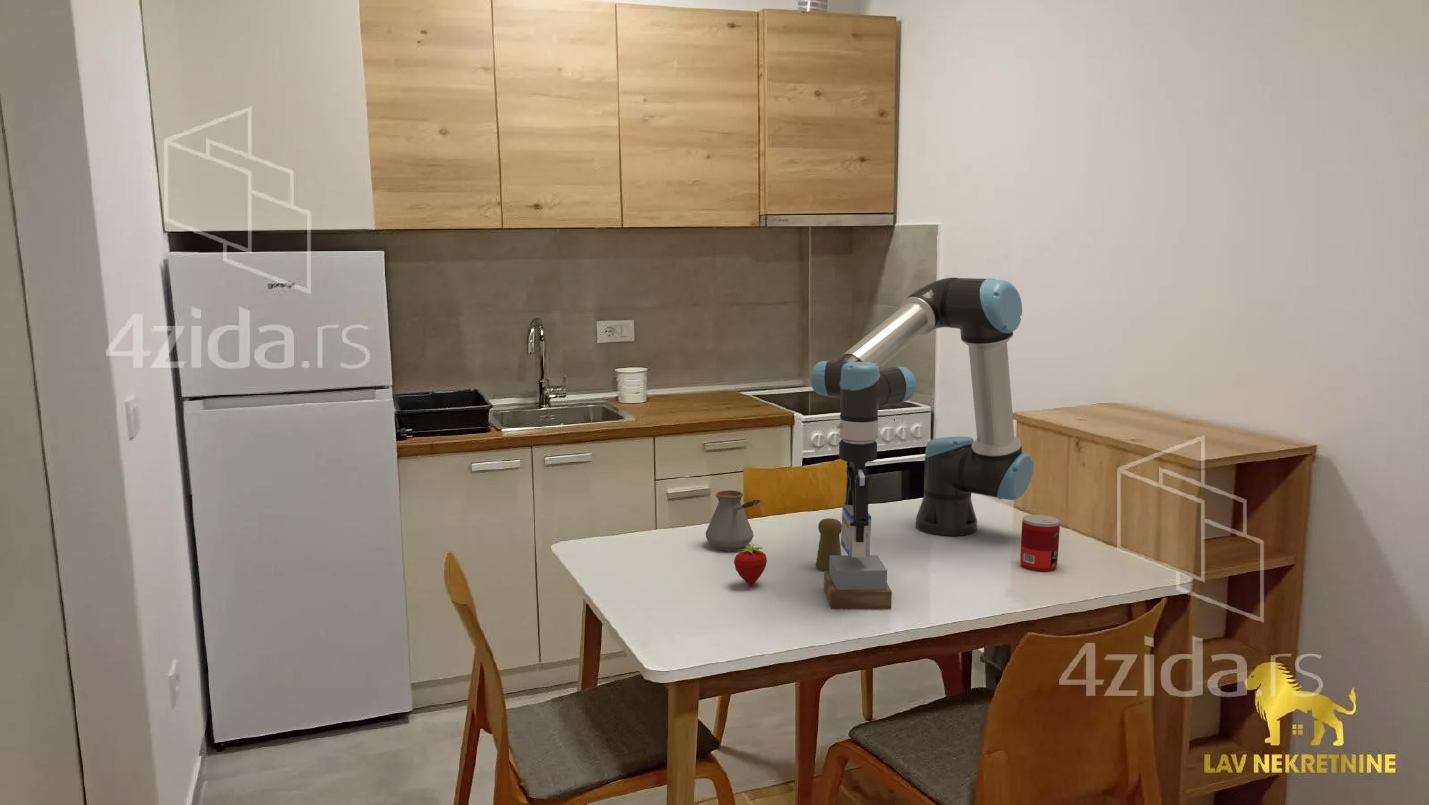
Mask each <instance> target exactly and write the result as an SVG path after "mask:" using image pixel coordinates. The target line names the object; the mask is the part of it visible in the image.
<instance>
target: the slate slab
mask: <svg viewBox="0 0 1429 805" xmlns="http://www.w3.org/2000/svg"><path fill="white" fill-rule="evenodd" d="M829 575H830V577H831V579H832V581H833V583H834V585H835V588H836V590H887V584H888V569H887V568H886V566H885V565H884V563H883V562H882V559H881V558H880V557H879V556H878V554H870V556H868V557H849V556H848V554H845V555H843V554H841V555H830V560H829Z"/></svg>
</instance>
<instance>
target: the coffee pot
mask: <svg viewBox="0 0 1429 805" xmlns="http://www.w3.org/2000/svg"><path fill="white" fill-rule="evenodd" d="M743 496H744V493H743V492H742V491H739V490H720V491H717V492H716V494H715V497H716V498H717V501H718V503H717V505H716V508H715V511H714V513H713V515H712V517H711V520H710V522H709V524H708V527H707V528H706V530H705V538H706V540H707V542H708V543H710V545H711V546H714V547H715V549H716V550H720V551H727V552H728V551H729V552H731V551H739V550H741V549H746V545H747V546H748V545H749V544H750V543H752V542H751V541H752V540H753V538H754V532H753V529H752V527H751V524H750V522H749V519H748V517H747V515H746V512H745V510H744V509H747V508H751V507H753V506H754V507H755V509H758V510H761V509H762V507H764V505H765V504H764V502H763V501H762V500H760V499H753V500H752V501H751V500H750V501H747V502H745V503H743V504H742V502H741V501H742V497H743ZM759 503H761V504H762V507H760V508H759V507H756V505H759ZM750 540H751V541H750ZM714 547H713V548H714Z"/></svg>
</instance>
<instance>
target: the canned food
mask: <svg viewBox="0 0 1429 805" xmlns="http://www.w3.org/2000/svg"><path fill="white" fill-rule="evenodd" d="M1021 522H1022V523H1021V534H1020V535H1021V538H1020V558H1019V561H1020V565H1021V567H1022V568H1024V569H1027V570H1029V571H1032V572H1033V571H1034V572H1041V573H1043V572H1044V573H1045V572H1053V571H1055V570H1056V569H1057V567H1058V560H1059V559H1058V557H1059V547H1060V546H1059V545H1060V544H1059V543H1060V530H1061V527H1060V526H1061V520H1060V519H1058V517H1057V518H1056V517H1055V516H1051V515H1046V514H1027V515H1024V516H1022V521H1021ZM1052 570H1053V571H1052Z"/></svg>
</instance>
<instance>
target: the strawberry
mask: <svg viewBox="0 0 1429 805" xmlns="http://www.w3.org/2000/svg"><path fill="white" fill-rule="evenodd" d="M750 541H751V542H750V543H751V544H752V546H749V545H748V544H747V545H746V547H745V548H743V549H740V550H738V553H737V554H736V555H735V556H734V561H733V564H734V568H735V571H736V572H737V573H738V575H739V576H740V577H741V579H742V580H743V581H744V582H745V583H746V584H747V585H748V586H749V587H751V586H755V585H756V583H757V581H758V580H759V578H760V577H761V576H762V574H763V573H764V571H765V569H766V566H767V563H768V558H767V555H766V554H765V553H764V551H762V549H763V547H761V546H760V547H756V546H755V545H754V543H753V541H752V540H750ZM754 546H755V547H754ZM760 549H761V550H760ZM739 551H740V552H739Z"/></svg>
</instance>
